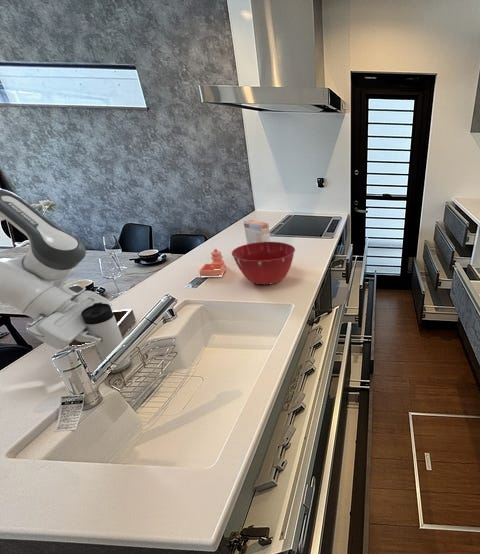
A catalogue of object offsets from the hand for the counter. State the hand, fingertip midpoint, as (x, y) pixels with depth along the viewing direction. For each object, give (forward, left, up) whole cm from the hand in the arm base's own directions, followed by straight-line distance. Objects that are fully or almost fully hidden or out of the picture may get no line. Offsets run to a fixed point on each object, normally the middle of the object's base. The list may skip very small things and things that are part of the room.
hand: (107, 333), depth 85 cm
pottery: (+14, +72, -12) cm, 74 cm away
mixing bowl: (+40, +56, -12) cm, 70 cm away
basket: (-13, +21, -12) cm, 27 cm away
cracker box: (+35, +89, -12) cm, 96 cm away
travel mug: (-1, 0, -12) cm, 12 cm away
